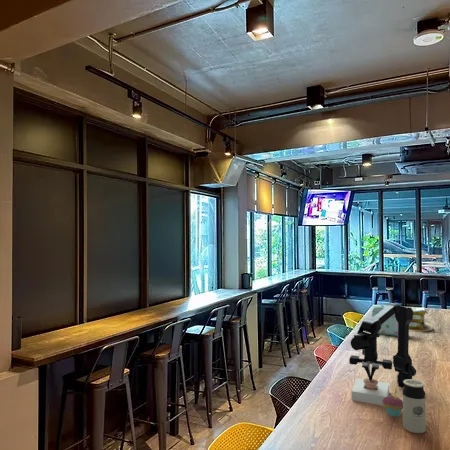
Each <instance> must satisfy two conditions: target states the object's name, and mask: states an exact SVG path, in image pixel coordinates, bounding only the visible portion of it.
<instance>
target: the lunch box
mask: <svg viewBox="0 0 450 450" xmlns="http://www.w3.org/2000/svg"><path fill="white" fill-rule="evenodd" d="M385 307H386V306H385V305H383V304H382V305H380V306H375V307H373V308H372V311H371V315H372V316H371V317H374V316H375V315H376V314H378V313H379V312H380V311H381V310H383V309H384V308H385ZM377 334H378V335H384V336H393V337H398V322H397V320H396V318H395V314H394V315H392V316H391V317H390V318H389V319H388V320H386V321H385V322H384V323H383V324H382V325H381V329H380V330H379V332H378V333H377Z"/></svg>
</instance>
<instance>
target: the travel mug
mask: <svg viewBox="0 0 450 450" xmlns="http://www.w3.org/2000/svg"><path fill="white" fill-rule="evenodd" d="M403 383H404V387H402V401H403V409H402V428H404V429H405V430H406V431H407V432H410V433H413V434H423V433H425V432H426V427H427V426H426V425H427V424H426V391H425V390H424V387H425V383H424V382H422V381H420V380H417V379H413V378H412V379H406V380H404V381H403Z"/></svg>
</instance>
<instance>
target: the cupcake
mask: <svg viewBox="0 0 450 450" xmlns="http://www.w3.org/2000/svg"><path fill="white" fill-rule="evenodd" d="M397 388H398V387H395V389H394V396H393V395H388V397H385V398H384V399H383V401H382V403H383V405H384V408H385V409H386V412H387V414H388V415H389V416H391V417H397V418H398V417H400V415H401V413H402V412H403V399H401V398H399V397H397V392H398V390H397ZM383 405H382V406H383Z"/></svg>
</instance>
